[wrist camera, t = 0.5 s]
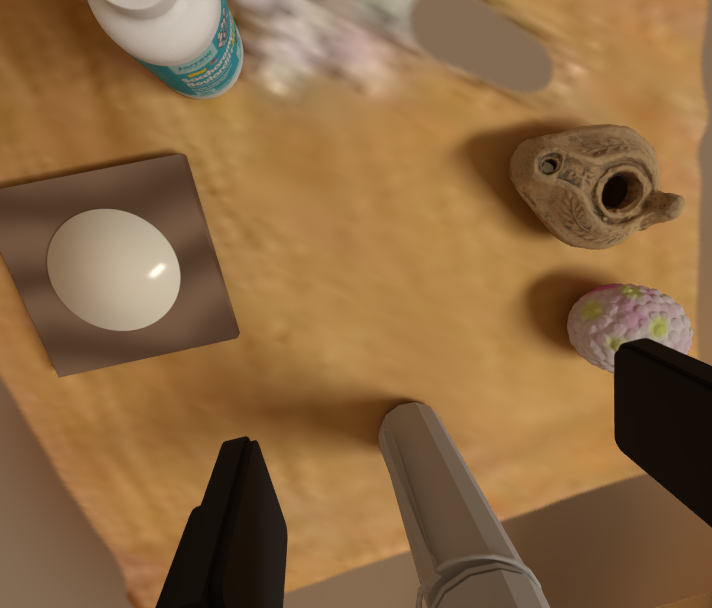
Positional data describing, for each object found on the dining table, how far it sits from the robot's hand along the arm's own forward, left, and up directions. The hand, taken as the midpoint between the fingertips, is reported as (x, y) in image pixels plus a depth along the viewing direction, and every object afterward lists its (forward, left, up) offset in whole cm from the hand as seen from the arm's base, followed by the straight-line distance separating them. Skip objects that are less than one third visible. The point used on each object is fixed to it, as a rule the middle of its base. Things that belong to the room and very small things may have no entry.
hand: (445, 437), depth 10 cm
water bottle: (+20, +2, -30) cm, 36 cm away
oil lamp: (-2, +22, -30) cm, 37 cm away
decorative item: (+13, +26, -30) cm, 42 cm away
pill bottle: (-19, -9, -30) cm, 36 cm away
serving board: (-3, -21, -30) cm, 36 cm away
